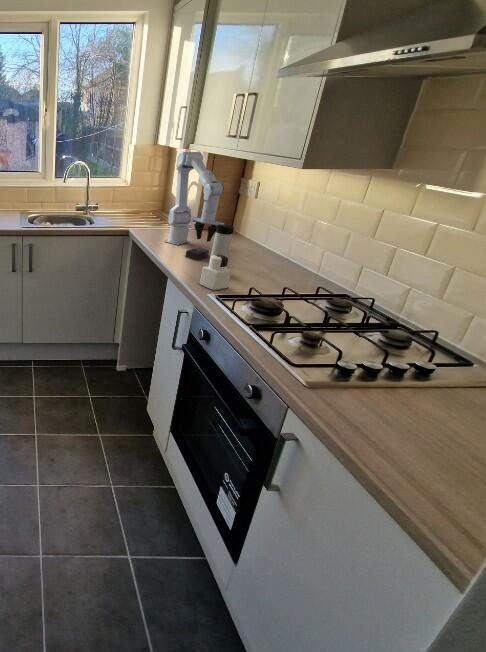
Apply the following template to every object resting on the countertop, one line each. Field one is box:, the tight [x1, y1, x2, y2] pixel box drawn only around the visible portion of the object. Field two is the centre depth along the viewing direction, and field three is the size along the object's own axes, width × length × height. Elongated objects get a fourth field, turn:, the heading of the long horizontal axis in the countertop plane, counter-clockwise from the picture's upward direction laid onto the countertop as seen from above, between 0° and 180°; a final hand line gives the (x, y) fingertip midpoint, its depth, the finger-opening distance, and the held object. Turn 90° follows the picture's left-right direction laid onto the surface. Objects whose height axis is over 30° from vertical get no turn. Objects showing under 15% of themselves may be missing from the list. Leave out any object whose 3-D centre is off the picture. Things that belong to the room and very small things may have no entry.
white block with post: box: [199, 255, 232, 291], centre depth 156 cm, size 7×7×12 cm
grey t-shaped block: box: [195, 246, 210, 258], centre depth 192 cm, size 6×5×3 cm
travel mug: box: [209, 224, 235, 259], centre depth 169 cm, size 6×7×20 cm
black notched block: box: [185, 248, 205, 261], centre depth 190 cm, size 6×6×3 cm
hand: (203, 240), depth 190 cm, fingers open, 4 cm apart
